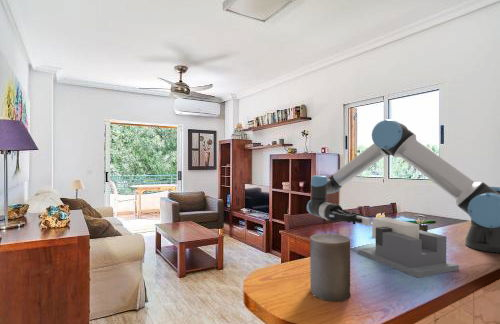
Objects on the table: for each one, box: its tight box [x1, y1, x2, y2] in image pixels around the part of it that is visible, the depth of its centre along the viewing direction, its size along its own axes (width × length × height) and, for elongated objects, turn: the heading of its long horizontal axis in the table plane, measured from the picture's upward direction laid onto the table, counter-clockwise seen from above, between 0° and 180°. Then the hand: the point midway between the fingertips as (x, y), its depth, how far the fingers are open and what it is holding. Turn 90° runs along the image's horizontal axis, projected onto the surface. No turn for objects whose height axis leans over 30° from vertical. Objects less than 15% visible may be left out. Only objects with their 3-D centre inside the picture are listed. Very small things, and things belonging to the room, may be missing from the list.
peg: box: [371, 216, 420, 240], centre depth 104 cm, size 14×6×7 cm, turn 22°
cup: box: [413, 222, 429, 232], centre depth 119 cm, size 8×7×8 cm
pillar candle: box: [309, 232, 351, 302], centre depth 75 cm, size 10×10×15 cm
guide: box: [357, 227, 460, 278], centre depth 100 cm, size 24×17×10 cm
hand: (369, 222), depth 114 cm, fingers closed
